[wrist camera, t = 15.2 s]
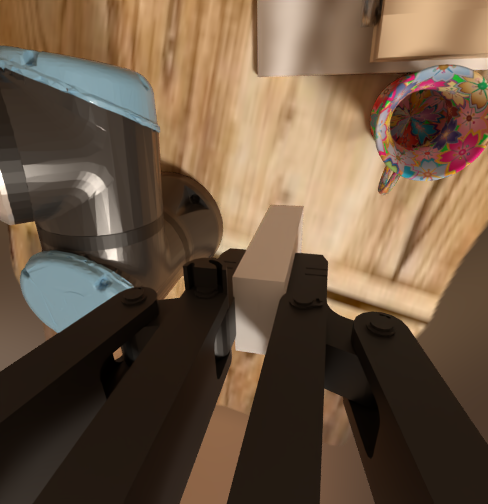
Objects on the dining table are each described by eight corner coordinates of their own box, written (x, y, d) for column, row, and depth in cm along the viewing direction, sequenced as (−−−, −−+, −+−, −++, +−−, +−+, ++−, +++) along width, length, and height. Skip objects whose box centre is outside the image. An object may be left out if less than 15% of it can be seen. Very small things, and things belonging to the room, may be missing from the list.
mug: (396, 53, 36) (417, 44, 26) (476, 91, 36) (527, 94, 26) (338, 159, 42) (339, 180, 32) (407, 191, 41) (428, 223, 32)
